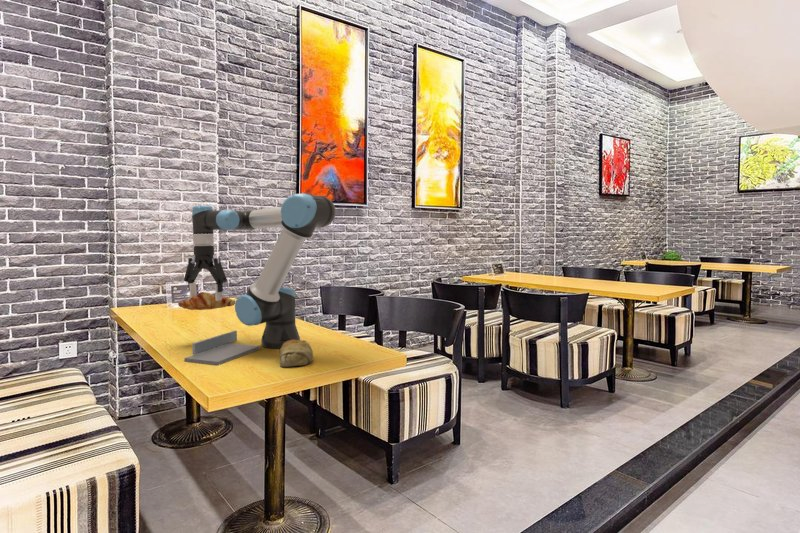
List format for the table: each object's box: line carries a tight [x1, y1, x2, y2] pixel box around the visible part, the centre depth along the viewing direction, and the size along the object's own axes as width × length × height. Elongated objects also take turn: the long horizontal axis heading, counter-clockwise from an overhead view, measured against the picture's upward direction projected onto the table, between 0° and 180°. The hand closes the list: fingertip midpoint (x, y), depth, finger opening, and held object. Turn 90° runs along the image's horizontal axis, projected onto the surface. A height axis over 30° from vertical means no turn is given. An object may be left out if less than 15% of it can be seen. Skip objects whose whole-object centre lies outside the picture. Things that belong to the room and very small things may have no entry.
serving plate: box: [183, 342, 261, 366], centre depth 181 cm, size 14×24×1 cm, turn 161°
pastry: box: [278, 339, 314, 368], centre depth 171 cm, size 14×12×8 cm
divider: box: [191, 330, 238, 355], centre depth 193 cm, size 1×24×4 cm, turn 161°
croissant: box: [177, 291, 236, 311], centre depth 196 cm, size 21×10×8 cm, turn 113°
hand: (205, 299), depth 196 cm, fingers closed on croissant, 12 cm apart
